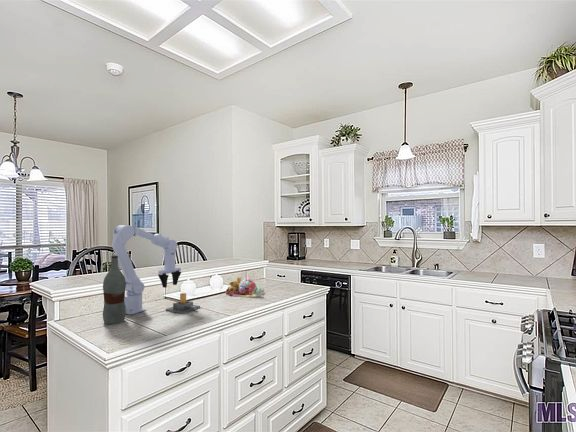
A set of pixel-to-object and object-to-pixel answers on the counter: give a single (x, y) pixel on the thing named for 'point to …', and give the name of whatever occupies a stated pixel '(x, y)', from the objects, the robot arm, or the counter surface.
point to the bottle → (114, 294)
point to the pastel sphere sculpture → (244, 288)
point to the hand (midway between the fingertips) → (169, 286)
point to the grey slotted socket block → (183, 307)
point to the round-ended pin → (183, 298)
